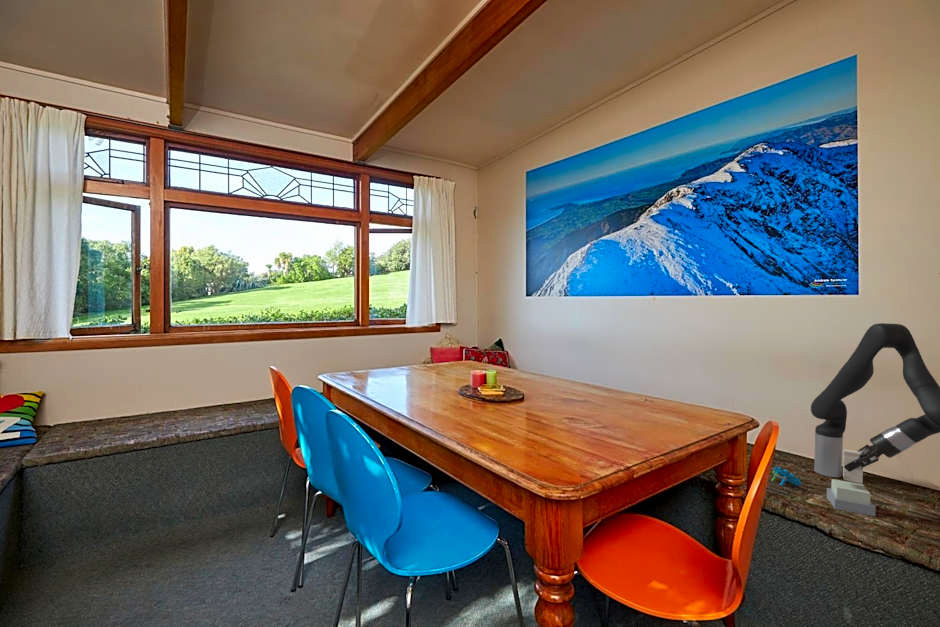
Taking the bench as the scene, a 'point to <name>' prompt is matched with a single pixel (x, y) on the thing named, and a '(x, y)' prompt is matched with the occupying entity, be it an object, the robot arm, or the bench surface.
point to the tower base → (850, 505)
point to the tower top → (850, 491)
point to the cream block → (857, 473)
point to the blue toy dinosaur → (785, 476)
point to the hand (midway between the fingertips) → (845, 466)
